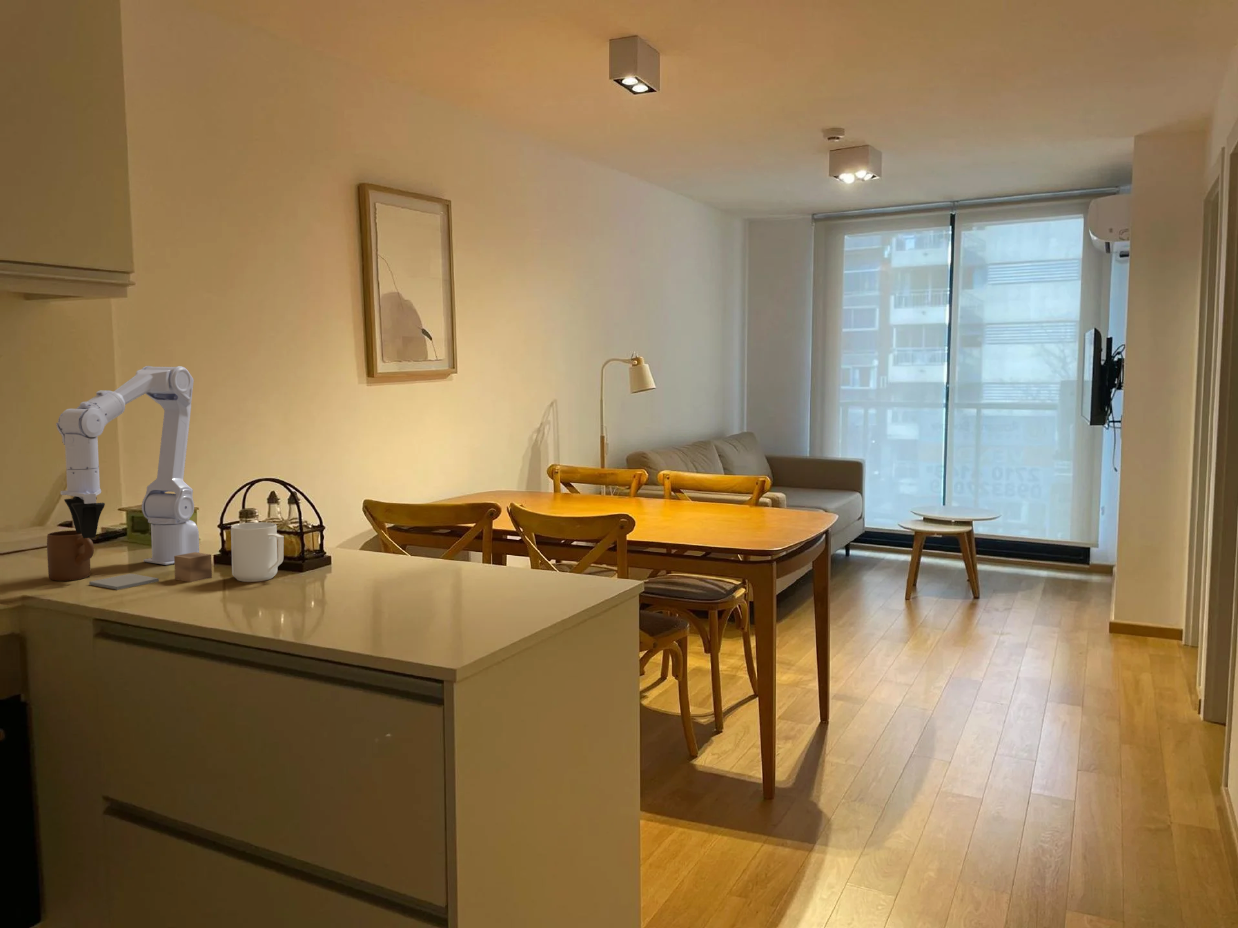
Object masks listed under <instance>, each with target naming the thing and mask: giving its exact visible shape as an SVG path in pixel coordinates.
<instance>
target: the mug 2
mask: <svg viewBox="0 0 1238 928" xmlns="http://www.w3.org/2000/svg"><path fill="white" fill-rule="evenodd" d="M277 527H278V526H277V524H276V523H275V522H262V521H259V522H243V523H237V524H234V525H232V526H231V527H230V537H231V538H230V540H231V541H230V543H231V546H230V547H231V574H232V576H233V577H234V578H235V579H236V580H237V581H239V582H243V583H244V582H247V583H254V582H264V581H268V580H271V579H273V578H274V576H276V575H277V573H278V567H279V566H280V565H281V564H283V561H284V558H285V557H284V552H285V551H284V545H285V543H284V541H285V539H284V537H285V536H284V535H281V534H280V533H278V532H277V531H278V530H277Z"/></svg>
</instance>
